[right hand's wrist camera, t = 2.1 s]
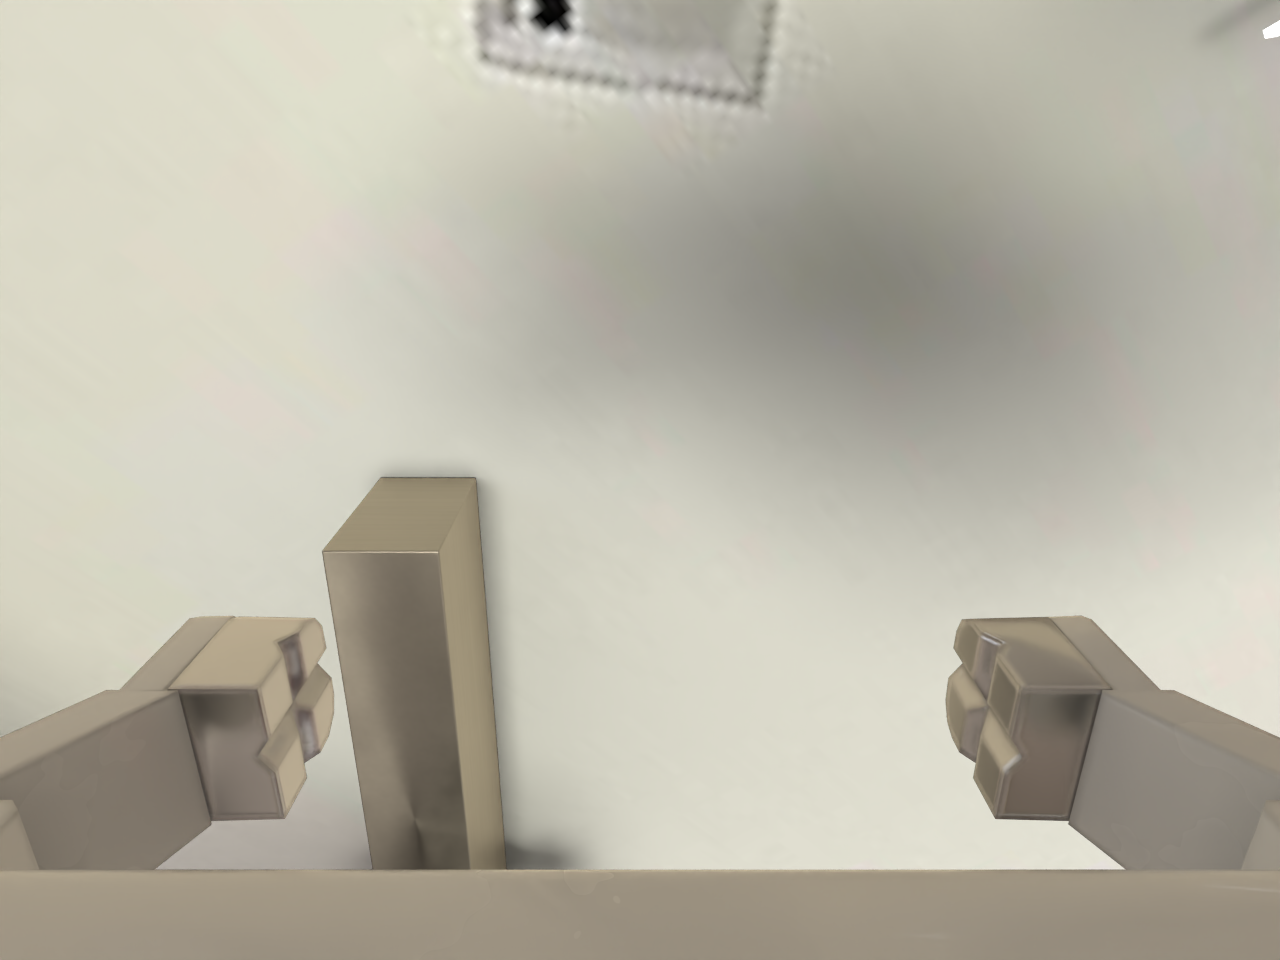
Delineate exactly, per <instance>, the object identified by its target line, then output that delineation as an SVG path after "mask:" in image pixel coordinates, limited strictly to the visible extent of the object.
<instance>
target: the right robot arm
mask: <svg viewBox="0 0 1280 960" xmlns="http://www.w3.org/2000/svg"><path fill="white" fill-rule="evenodd" d="M1263 33H1264V36H1265V38H1271V37H1276V36H1280V21H1278V22H1277V23H1275V24H1273V25H1271V26H1270V27H1268V28H1266V29H1265V30H1263ZM325 650H326V643H325V638H324V633H323V628H322V625H321V624H320V623H319V622H318V621H317V620H316V619H315V618H291V617H240V616H239V617H235V616H200V617H195V618H190V619H189V620H188V621H187V622H186V623H185V624H184V625H183V626H182V627H181V628H180V629H179V630H178V631H177V632H176V633H175V634H174V635H173V636H172V637H171V638H170V639H169V640H168V641H167V642H166V643H165V644H164V645H163V646H162V647H161V648H160V649H159V650H158V651H157V652H156V653H155V654H154V655H153V656H152V657H151V658H150V659H149V660H148V661H147V662H146V663H145V664H144V665H143V667H142V668H141V669H140V670H139V671H138V672H137V673H136V674H135V675H134V676H133V677H132V678H131V679H130V680H129V681H128V682H127V683H126V684H125V685H124V686H123V687H122V688H121V689H120V690H106V691H103V692H101V693H99V694H97V695H94V696H92V697H90V698H88V699H85V700H83V701H81V702H79V703H76V704H74V705H72V706H70V707H68V708H65V709H63V710H61V711H59V712H56V713H54V714H52V715H50V716H47V717H45V718H43V719H41V720H38V721H36V722H34V723H32V724H30V725H27V726H25V727H23V728H21V729H18V730H16V731H14V732H12V733H9V734H7V735H5V736H3V737H0V960H1280V738H1279V737H1277V736H1275V735H1273V734H1270V733H1268V732H1266V731H1264V730H1261V729H1259V728H1257V727H1255V726H1252V725H1250V724H1248V723H1246V722H1244V721H1241V720H1239V719H1237V718H1235V717H1232V716H1230V715H1228V714H1226V713H1223V712H1221V711H1219V710H1217V709H1215V708H1212V707H1210V706H1208V705H1206V704H1203V703H1201V702H1199V701H1197V700H1195V699H1192V698H1190V697H1188V696H1186V695H1183V694H1181V693H1179V692H1177V691H1174V690H1160V689H1159V688H1158V687H1157V686H1156V685H1155V684H1154V683H1153V682H1152V681H1151V680H1150V679H1149V678H1148V677H1147V676H1146V675H1145V674H1144V673H1143V672H1142V670H1141V669H1140V668H1139V667H1138V666H1137V665H1136V664H1135V663H1134V662H1133V661H1132V660H1131V659H1130V658H1129V657H1128V656H1127V655H1126V654H1125V653H1124V652H1123V651H1122V650H1121V649H1120V648H1119V647H1118V646H1117V645H1116V644H1115V643H1114V642H1113V641H1112V640H1111V639H1110V638H1109V637H1108V636H1107V635H1106V634H1105V633H1104V632H1103V631H1102V630H1101V629H1100V628H1099V627H1098V626H1097V624H1096V623H1095V622H1094V621H1093V620H1092V619H1089V618H1086V617H1084V616H1057V617H1025V618H985V619H962V620H961V623H960V625H959V627H958V629H957V631H956V637H955V642H954V650H955V651H956V653H957V655H958V656H959V658H960V659H961V661H962V664H961V665H960V667H959V668H958V669H957V670H956V671H955V672H954V673H953V674H952V675H951V676H950V677H949V678H948V685H947V693H946V700H945V701H946V712H947V723H948V726H949V729H950V733H951V736H952V739H953V741H954V743H955V745H956V747H957V749H958V751H959V752H960V753H961V754H963V755H964V756H966V757H967V758H969V759H970V760H972V761H973V762H975V763H976V765H975V770H974V776H973V779H974V781H975V782H976V784H977V786H978V788H979V790H980V792H981V794H982V795H983V797H984V799H985V801H986V803H987V805H988V806H989V808H990V810H991V812H992V814H993V816H994V817H995V819H1017V820H1054V821H1069V823H1068V824H1069V825H1070V826H1071V827H1073V828H1074V829H1075V830H1076V831H1078V832H1079V833H1080V834H1081V835H1083V836H1084V837H1085V838H1087V839H1088V840H1089V841H1090V842H1092V843H1093V844H1094V845H1095V846H1097V847H1098V848H1099V849H1100V850H1102V851H1103V852H1104V853H1106V854H1107V855H1108V856H1109V857H1111V858H1112V859H1113V860H1114V861H1116V862H1117V863H1118V864H1120V865H1121V866H1122V867H1123V868H1125V869H1126V870H154V869H156V868H157V867H158V866H159V865H161V864H162V863H163V862H165V861H166V860H167V859H168V858H170V857H171V856H172V855H173V854H175V853H176V852H177V851H179V850H180V849H181V848H182V847H184V846H185V845H186V844H187V843H189V842H190V841H191V840H193V839H194V838H195V837H196V836H198V835H199V834H200V833H201V832H203V831H204V830H205V829H206V828H208V827H209V826H210V825H211V821H226V820H261V819H285V818H286V816H287V814H288V812H289V810H290V808H291V807H292V805H293V803H294V801H295V799H296V797H297V795H298V794H299V792H300V790H301V788H302V786H303V784H304V782H305V781H306V779H307V776H306V770H305V765H304V763H305V762H307V761H308V760H310V759H311V758H313V757H314V756H316V755H317V754H319V753H320V752H321V751H322V749H323V747H324V745H325V743H326V741H327V739H328V737H329V733H330V729H331V724H332V720H333V715H334V690H333V684H332V678H331V677H330V676H329V675H328V674H327V673H326V672H325V671H324V670H323V669H322V668H321V667H320V665H319V664H318V661H319V659H320V658H321V656H322V655H323V653H324V651H325Z"/></svg>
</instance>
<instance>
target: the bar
mask: <svg viewBox="0 0 1280 960" xmlns="http://www.w3.org/2000/svg"><path fill="white" fill-rule="evenodd" d="M322 554H323V560H324V567H325V573H326V579H327V585H328V592H329V598H330V604H331V610H332V617H333V623H334V629H335V635H336V642H337V648H338V654H339V660H340V667H341V673H342V679H343V686H344V692H345V698H346V704H347V711H348V717H349V723H350V729H351V736H352V742H353V748H354V754H355V761H356V767H357V773H358V779H359V786H360V792H361V798H362V805H363V811H364V817H365V823H366V830H367V836H368V842H369V848H370V855H371V861H372V867H373V870H507V869H506V856H505V843H504V830H503V818H502V805H501V792H500V780H499V767H498V754H497V741H496V729H495V716H494V703H493V691H492V678H491V665H490V652H489V640H488V627H487V614H486V602H485V589H484V576H483V563H482V551H481V538H480V525H479V513H478V500H477V487H476V479H475V478H380V479H379V480H378V482H377V483H376V484H375V485H374V487H373V488H372V489H371V490H370V492H369V493H368V494H367V495H366V497H365V498H364V499H363V500H362V502H361V503H360V504H359V505H358V507H357V508H356V509H355V510H354V512H353V513H352V514H351V515H350V517H349V518H348V519H347V520H346V522H345V523H344V524H343V525H342V527H341V528H340V529H339V531H338V532H337V533H336V534H335V536H334V537H333V538H332V539H331V541H330V542H329V543H328V544H327V546H326V547H325V548H324V549H323V551H322Z"/></svg>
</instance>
